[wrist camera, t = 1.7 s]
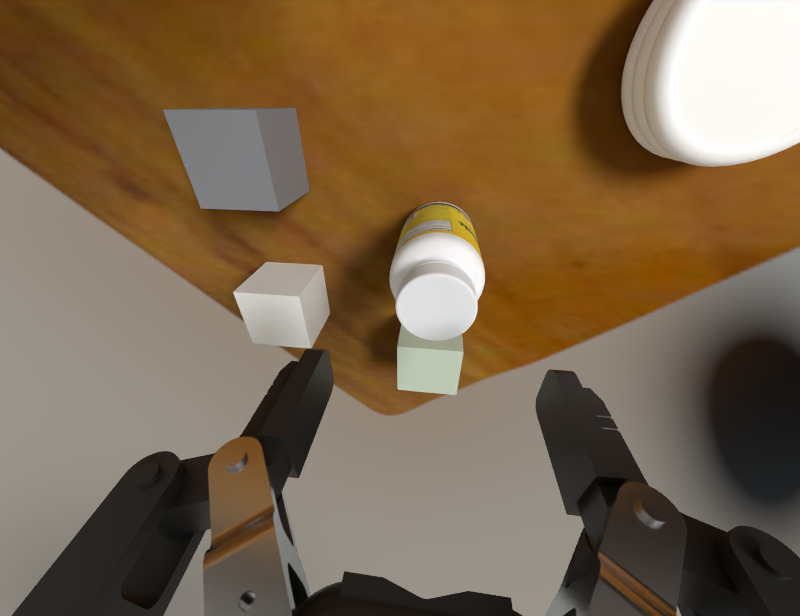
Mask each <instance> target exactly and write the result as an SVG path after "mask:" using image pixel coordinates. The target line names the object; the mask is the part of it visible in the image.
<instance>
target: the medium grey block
mask: <svg viewBox="0 0 800 616" xmlns="http://www.w3.org/2000/svg"><path fill="white" fill-rule="evenodd" d="M163 111H164V114H165V116H166V119H167V122H168V124H169V127H170V129H171V132H172V135H173V137H174V140H175V142H176V145H177V148H178V150H179V153H180V155H181V158H182V161H183V163H184V166H185V168H186V171H187V174H188V176H189V179H190V181H191V184H192V187H193V189H194V192H195V194H196V197H197V200H198V202H199V205H200V207H201V209H227V210H254V211H280V210H282V209H283V208H285V207H286V206H288V205H289V204H291V203H292V202H294V201H295V200H297V199H298V198H300V197H301V196H303V195H304V194H306V193H307V192H309V191H310V190H309V184H308V178H307V172H306V167H305V161H304V155H303V149H302V143H301V137H300V131H299V125H298V119H297V113H296V108H199V109H167V110H163Z"/></svg>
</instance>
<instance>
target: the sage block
mask: <svg viewBox="0 0 800 616" xmlns="http://www.w3.org/2000/svg"><path fill="white" fill-rule="evenodd" d="M462 358H463V340H462V334H461V335H459V336H457V337H454V338H451V339H448V340H442V341H433V340H426V339H423V338H420V337H417V336H415V335H413V334H412V333H410V332H409V331H408V330H407V329H405V328H404V326H403V325H402V324H401V329H400V334H399V339H398V345H397V378H398V390H409V391H419V392H430V393H440V394H451V395H456V393H457V387H458V382H459V376H460V370H461V364H462Z"/></svg>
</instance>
